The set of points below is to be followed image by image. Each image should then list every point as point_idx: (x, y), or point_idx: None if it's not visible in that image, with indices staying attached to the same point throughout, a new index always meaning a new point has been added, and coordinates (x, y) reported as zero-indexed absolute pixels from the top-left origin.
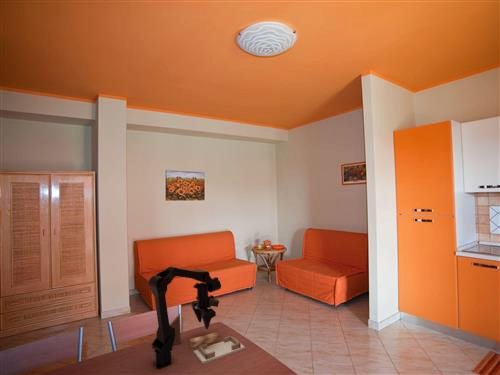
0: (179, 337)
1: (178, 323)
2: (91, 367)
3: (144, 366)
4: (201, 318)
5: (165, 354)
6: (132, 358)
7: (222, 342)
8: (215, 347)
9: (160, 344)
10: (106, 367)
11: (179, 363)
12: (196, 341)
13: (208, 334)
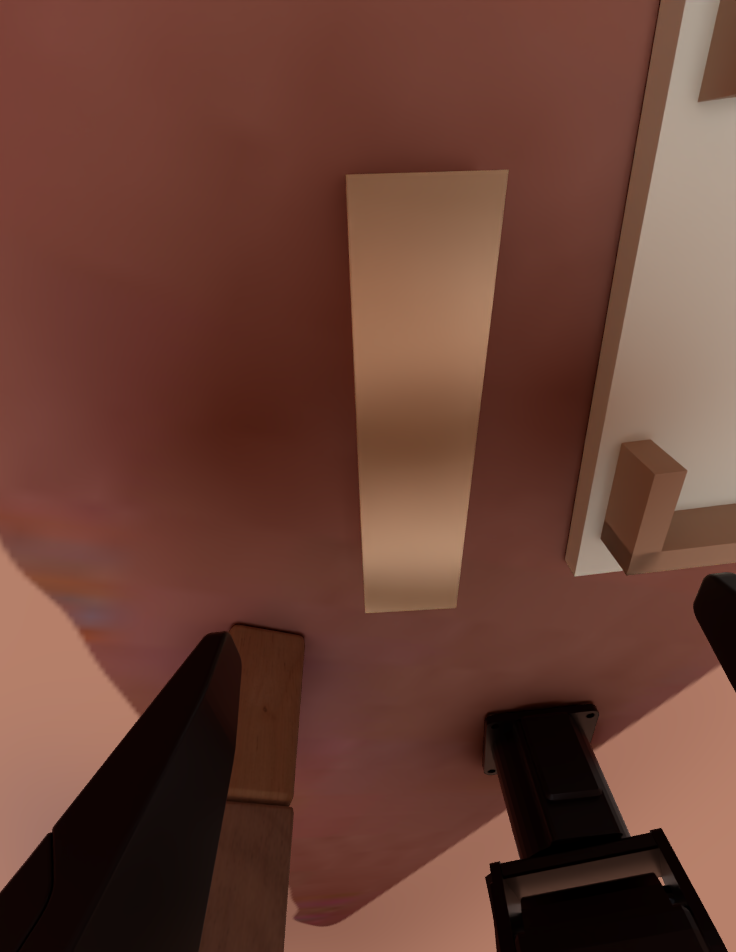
0: (299, 700)
1: (283, 941)
2: (350, 899)
3: (492, 791)
4: (195, 716)
5: (623, 821)
6: (360, 825)
7: (693, 140)
8: (726, 332)
9: (511, 883)
10: (385, 875)
11: (626, 663)
12: (461, 554)
13: (365, 362)
